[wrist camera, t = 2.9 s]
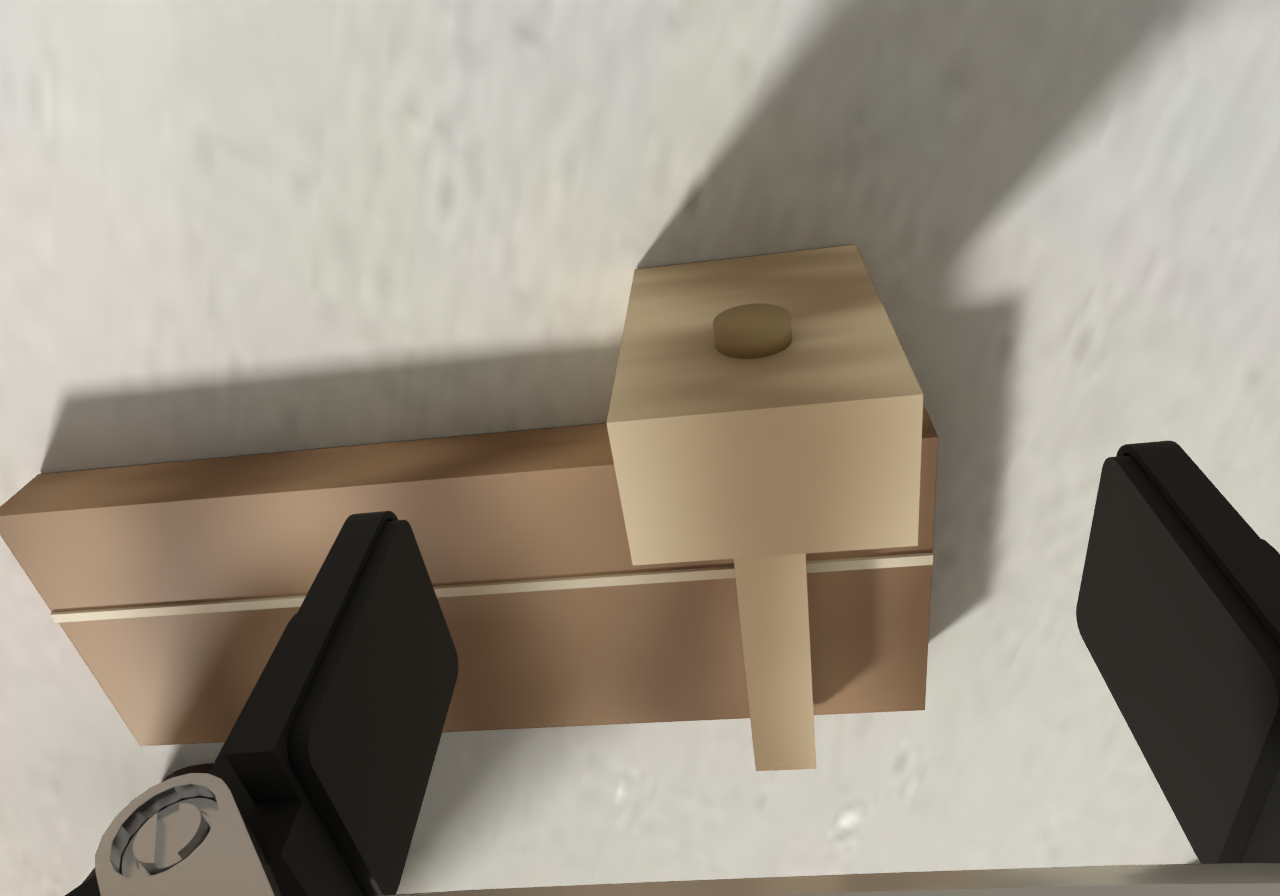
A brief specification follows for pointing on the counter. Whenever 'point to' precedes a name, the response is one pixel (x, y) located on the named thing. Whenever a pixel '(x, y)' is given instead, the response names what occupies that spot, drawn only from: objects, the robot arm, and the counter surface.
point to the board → (443, 584)
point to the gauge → (765, 446)
